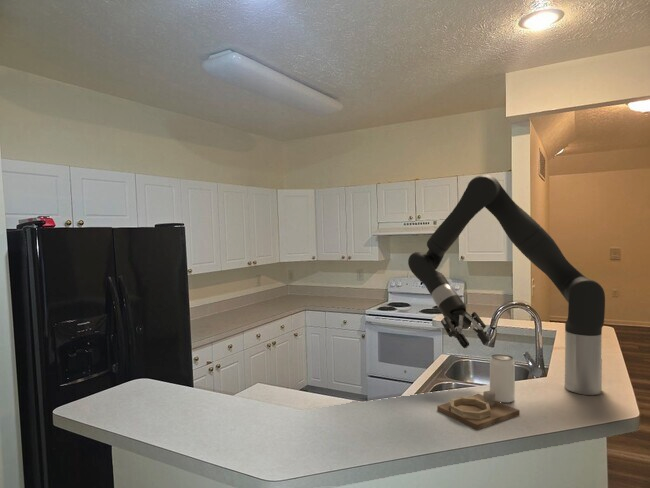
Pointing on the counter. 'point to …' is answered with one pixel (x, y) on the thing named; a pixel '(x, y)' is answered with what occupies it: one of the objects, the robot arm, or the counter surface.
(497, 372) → the can
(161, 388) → the counter surface
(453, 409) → the board
